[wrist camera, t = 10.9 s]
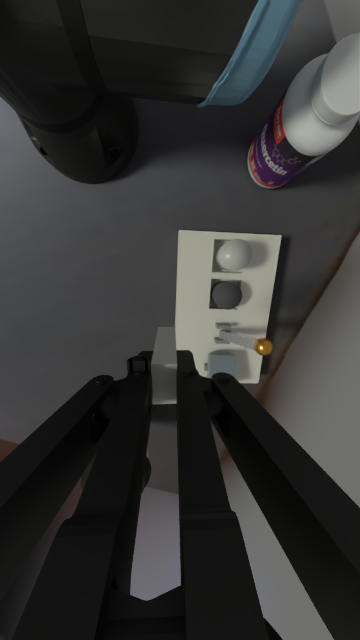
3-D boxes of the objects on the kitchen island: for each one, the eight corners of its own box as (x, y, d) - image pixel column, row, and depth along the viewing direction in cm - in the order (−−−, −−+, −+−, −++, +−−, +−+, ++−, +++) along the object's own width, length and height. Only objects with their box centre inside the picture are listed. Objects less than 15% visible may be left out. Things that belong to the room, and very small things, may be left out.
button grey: (216, 241, 31) (223, 237, 27) (243, 243, 31) (253, 239, 27) (214, 269, 32) (220, 269, 28) (240, 270, 32) (249, 271, 28)
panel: (178, 233, 33) (179, 227, 28) (272, 238, 34) (287, 233, 29) (173, 373, 39) (173, 387, 35) (252, 374, 40) (262, 388, 36)
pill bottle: (235, 153, 30) (289, 56, 16) (281, 118, 29) (380, -17, 15) (260, 202, 32) (328, 152, 18) (304, 170, 31) (411, 91, 17)
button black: (211, 280, 34) (216, 282, 30) (235, 281, 34) (243, 283, 30) (209, 304, 35) (214, 309, 31) (232, 305, 35) (240, 310, 31)
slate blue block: (207, 353, 35) (210, 355, 32) (232, 353, 35) (236, 356, 33) (206, 387, 35) (209, 392, 32) (231, 387, 35) (235, 392, 33)
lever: (218, 326, 33) (269, 342, 26) (227, 324, 34) (277, 338, 28) (216, 341, 33) (266, 360, 27) (226, 338, 35) (274, 355, 29)
